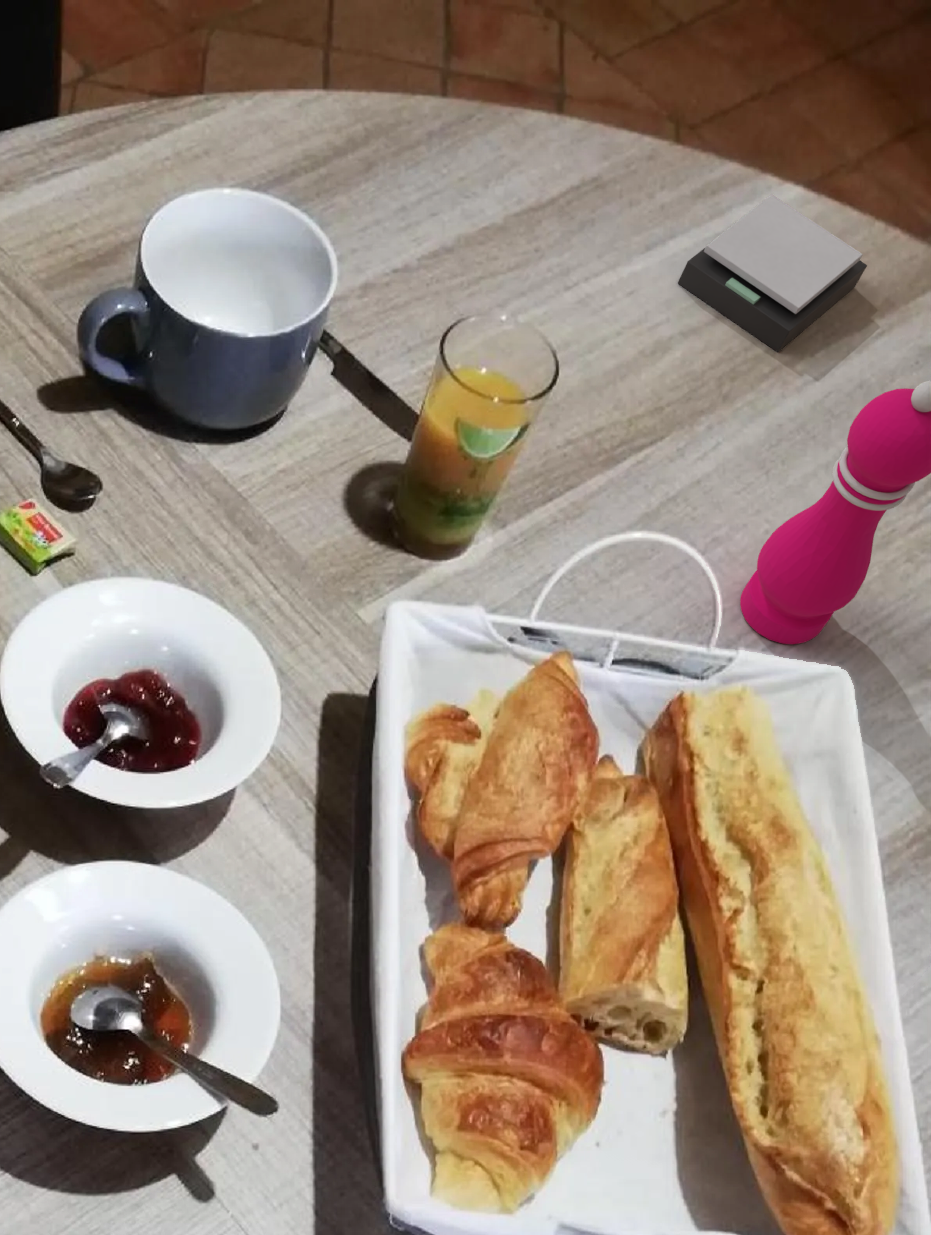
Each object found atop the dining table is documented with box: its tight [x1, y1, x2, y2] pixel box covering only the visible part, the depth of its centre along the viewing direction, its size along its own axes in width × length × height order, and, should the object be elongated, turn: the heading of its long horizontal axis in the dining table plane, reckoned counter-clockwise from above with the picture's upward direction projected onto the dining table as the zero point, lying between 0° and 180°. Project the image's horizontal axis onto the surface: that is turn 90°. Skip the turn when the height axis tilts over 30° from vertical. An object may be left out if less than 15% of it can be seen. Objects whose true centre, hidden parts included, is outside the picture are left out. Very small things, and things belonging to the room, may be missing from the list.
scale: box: [677, 193, 868, 353], centre depth 131 cm, size 10×11×3 cm
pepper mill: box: [739, 380, 931, 645], centre depth 110 cm, size 7×7×20 cm
